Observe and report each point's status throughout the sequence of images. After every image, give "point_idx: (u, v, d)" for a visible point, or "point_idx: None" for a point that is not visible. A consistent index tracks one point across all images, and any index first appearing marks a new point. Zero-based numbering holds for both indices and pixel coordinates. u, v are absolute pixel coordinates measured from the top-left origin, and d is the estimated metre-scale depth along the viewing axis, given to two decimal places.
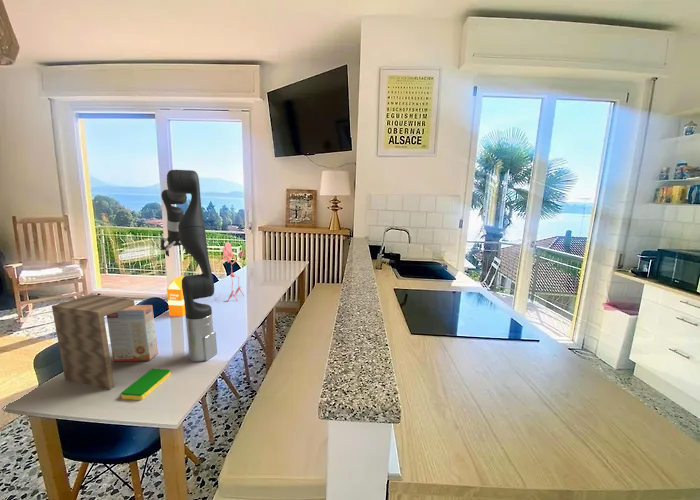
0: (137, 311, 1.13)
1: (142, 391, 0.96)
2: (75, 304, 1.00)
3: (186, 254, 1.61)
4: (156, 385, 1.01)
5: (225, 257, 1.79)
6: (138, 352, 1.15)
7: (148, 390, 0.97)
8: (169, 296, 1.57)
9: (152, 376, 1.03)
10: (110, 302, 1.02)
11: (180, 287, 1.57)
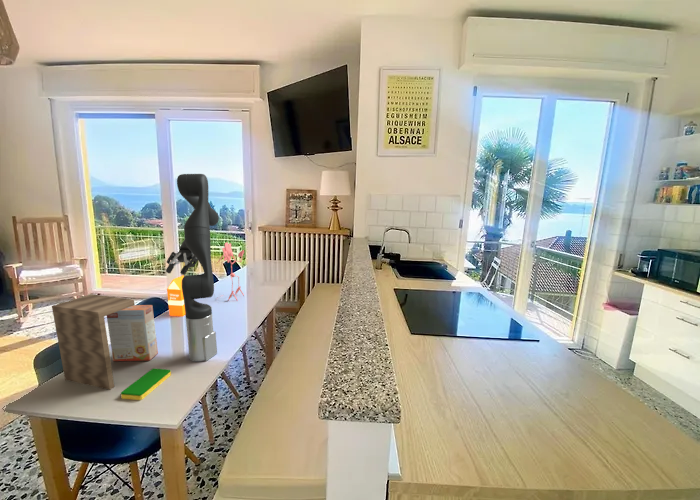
0: (137, 311, 1.13)
1: (141, 391, 0.95)
2: (75, 304, 1.00)
3: None
4: (156, 385, 1.01)
5: (225, 257, 1.79)
6: (138, 352, 1.15)
7: (148, 390, 0.97)
8: (169, 296, 1.57)
9: (152, 376, 1.03)
10: (110, 302, 1.02)
11: (180, 287, 1.57)
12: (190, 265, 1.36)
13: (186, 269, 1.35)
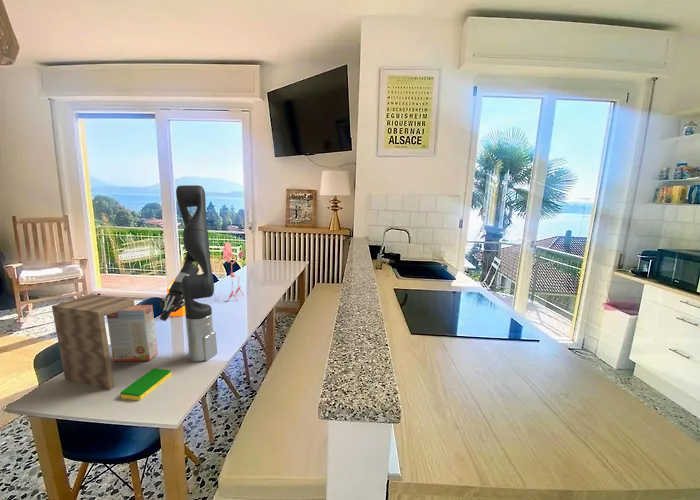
0: (137, 311, 1.13)
1: (141, 391, 0.95)
2: (75, 304, 1.00)
3: (161, 318, 1.29)
4: (155, 385, 1.00)
5: (225, 257, 1.79)
6: (138, 352, 1.15)
7: (147, 390, 0.97)
8: None
9: (152, 376, 1.03)
10: (110, 302, 1.02)
11: None
12: (172, 310, 1.31)
13: (167, 315, 1.31)
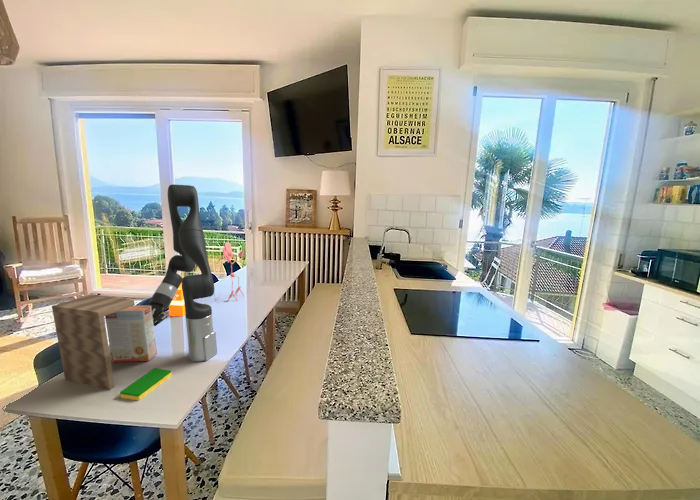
0: (136, 311, 1.12)
1: (140, 391, 0.95)
2: (75, 304, 1.00)
3: None
4: (155, 386, 1.00)
5: (225, 257, 1.79)
6: (137, 353, 1.15)
7: (146, 391, 0.97)
8: None
9: (152, 376, 1.03)
10: (110, 302, 1.02)
11: (180, 287, 1.57)
12: None
13: None
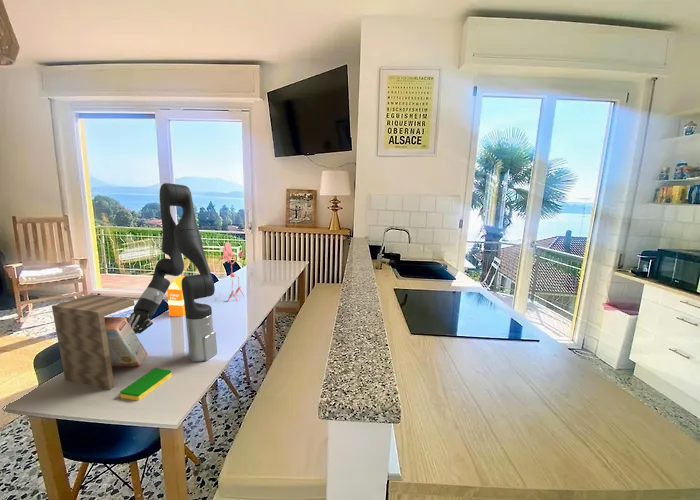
0: (109, 330, 1.01)
1: (139, 392, 0.95)
2: (75, 304, 1.00)
3: None
4: (155, 386, 1.00)
5: (225, 257, 1.79)
6: (125, 361, 1.10)
7: (146, 391, 0.97)
8: (169, 296, 1.57)
9: (152, 376, 1.03)
10: (110, 302, 1.02)
11: (180, 287, 1.57)
12: (136, 332, 1.15)
13: None
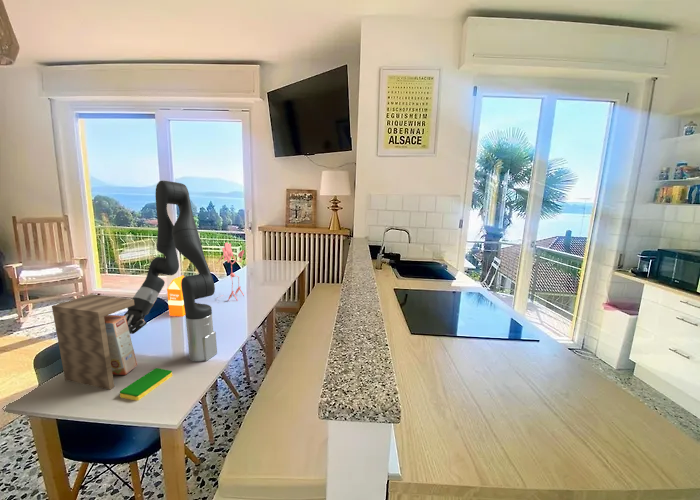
0: (106, 324, 1.01)
1: (139, 392, 0.95)
2: (75, 304, 1.00)
3: None
4: (155, 386, 1.00)
5: (225, 257, 1.79)
6: (113, 366, 1.06)
7: (145, 391, 0.97)
8: (169, 296, 1.57)
9: (153, 376, 1.03)
10: (110, 302, 1.02)
11: (180, 287, 1.57)
12: None
13: None
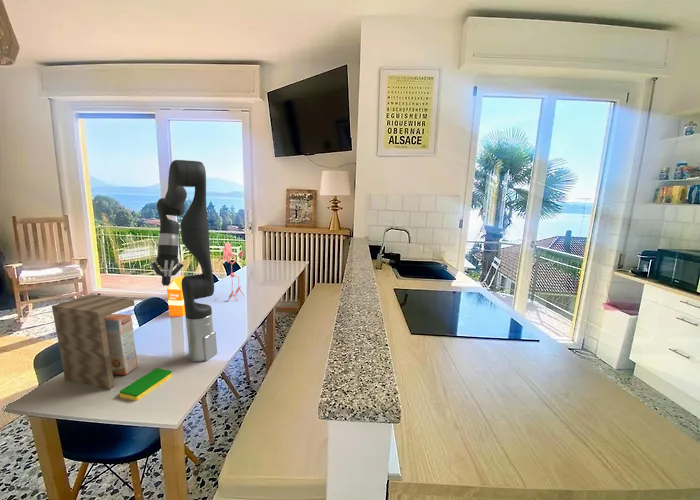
0: (112, 321, 1.03)
1: (138, 392, 0.95)
2: (75, 304, 1.00)
3: (167, 284, 1.27)
4: (154, 386, 1.00)
5: (225, 257, 1.79)
6: (114, 366, 1.06)
7: (145, 391, 0.97)
8: (169, 296, 1.57)
9: (153, 376, 1.03)
10: (110, 302, 1.02)
11: (180, 287, 1.57)
12: None
13: None
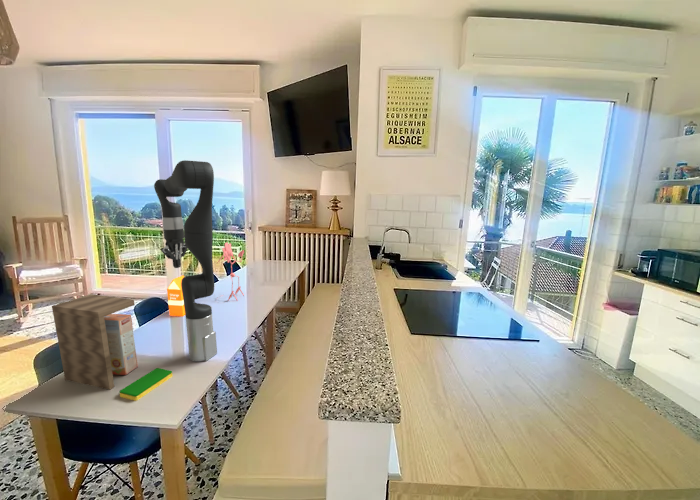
0: (112, 321, 1.03)
1: (138, 392, 0.95)
2: (75, 304, 1.00)
3: (179, 266, 1.31)
4: (154, 386, 1.00)
5: (225, 257, 1.79)
6: (114, 366, 1.06)
7: (144, 391, 0.97)
8: (169, 296, 1.57)
9: (153, 376, 1.03)
10: (110, 302, 1.02)
11: (180, 287, 1.57)
12: None
13: None
